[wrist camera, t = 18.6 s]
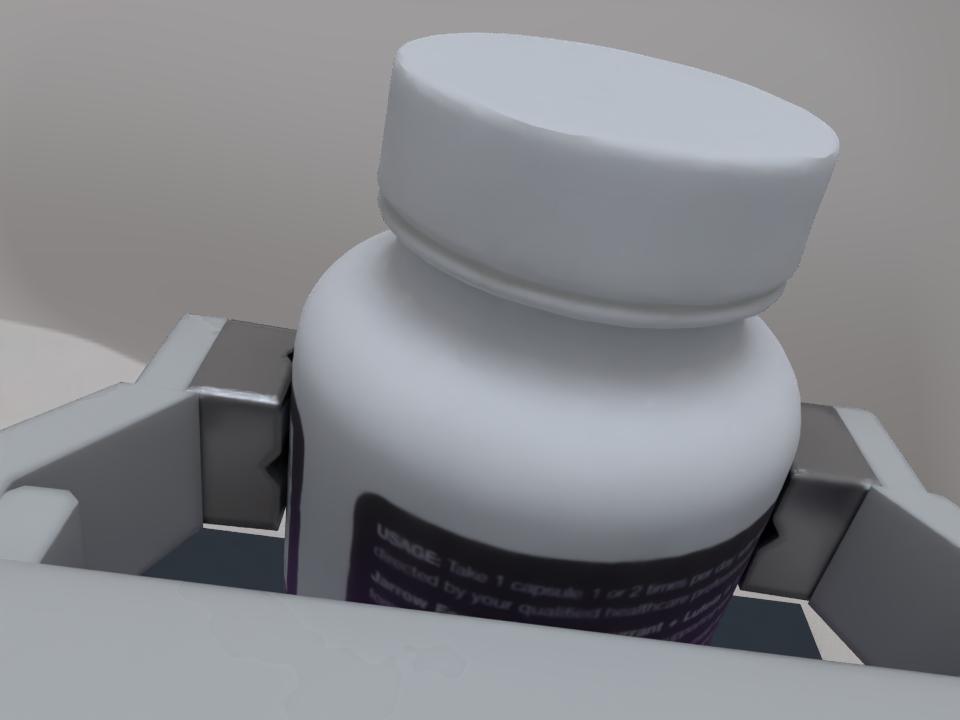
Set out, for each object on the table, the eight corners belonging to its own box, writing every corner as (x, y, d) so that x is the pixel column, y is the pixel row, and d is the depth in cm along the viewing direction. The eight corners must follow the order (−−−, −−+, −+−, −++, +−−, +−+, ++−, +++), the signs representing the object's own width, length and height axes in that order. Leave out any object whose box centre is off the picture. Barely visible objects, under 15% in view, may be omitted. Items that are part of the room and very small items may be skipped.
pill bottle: (704, 773, 12) (1035, 158, 7) (426, 1043, 9) (675, 261, 4) (477, 551, 16) (594, 14, 10) (210, 690, 12) (190, 4, 7)
